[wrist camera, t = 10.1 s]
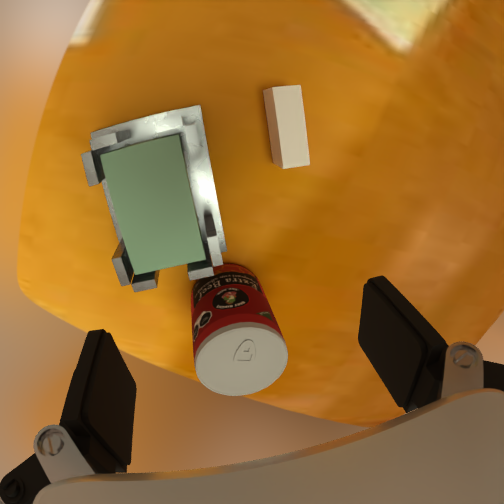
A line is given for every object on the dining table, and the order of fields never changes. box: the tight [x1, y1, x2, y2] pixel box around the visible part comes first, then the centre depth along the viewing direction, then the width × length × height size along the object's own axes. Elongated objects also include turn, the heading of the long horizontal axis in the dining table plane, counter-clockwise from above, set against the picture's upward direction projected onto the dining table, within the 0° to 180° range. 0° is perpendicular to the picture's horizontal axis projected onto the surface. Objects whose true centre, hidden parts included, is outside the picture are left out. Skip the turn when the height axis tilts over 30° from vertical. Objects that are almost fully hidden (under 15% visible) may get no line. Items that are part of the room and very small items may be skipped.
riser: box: [263, 85, 310, 169], centre depth 26 cm, size 7×2×4 cm, turn 8°
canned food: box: [191, 264, 288, 396], centre depth 29 cm, size 8×8×11 cm
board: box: [100, 133, 206, 275], centre depth 23 cm, size 10×6×2 cm, turn 8°
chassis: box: [81, 105, 227, 292], centre depth 25 cm, size 14×10×6 cm
